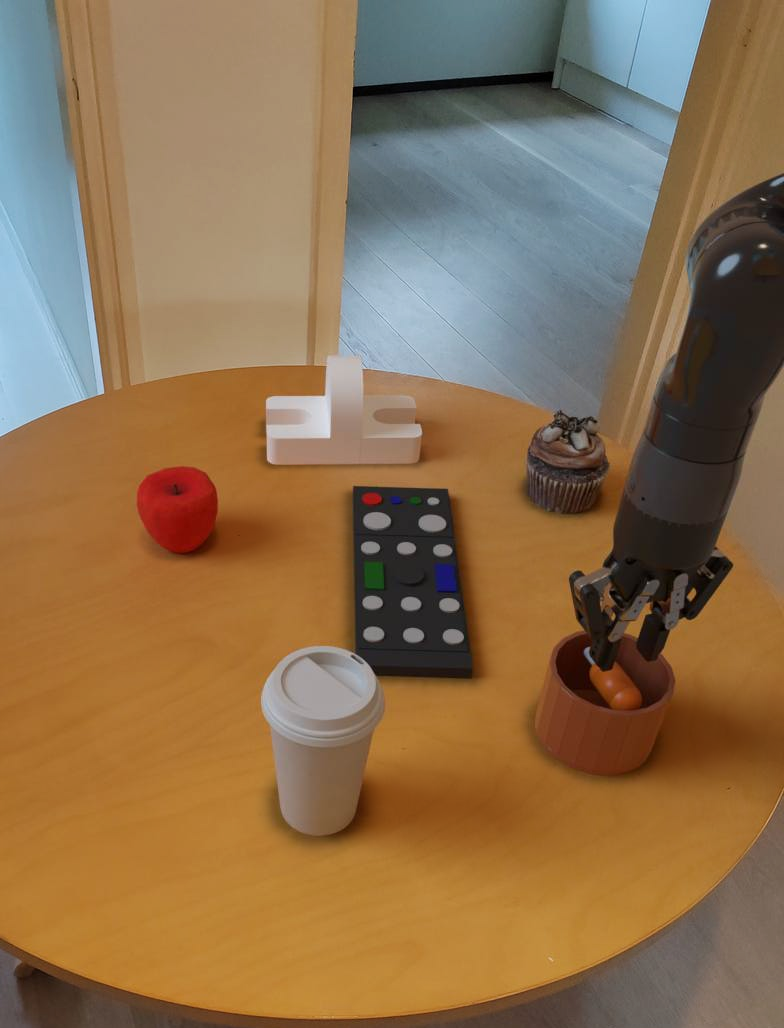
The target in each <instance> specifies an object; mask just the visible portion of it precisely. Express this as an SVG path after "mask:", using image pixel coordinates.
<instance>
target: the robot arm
mask: <svg viewBox="0 0 784 1028" xmlns="http://www.w3.org/2000/svg"><path fill="white" fill-rule="evenodd" d="M685 265H686V275H687V280H688V286H689V292H690V299H689V305H688V311H687V316H686V320H685V324H684V327H683V330H682V334H681V337H680V340H679V344H678V347H677V350H676V352H675V353H674V354H673V355H671V357H669V359H668V360H667V361H666V362H665V365H664V367H663V368H662V371H661V372H660V375H659V377H658V380H657V384H656V387H655V389H654V394H653V397H652V400H651V403H650V407H649V410H648V415H647V416H646V417H647V418H646V421H645V425H644V429H643V431H642V434H641V436H640V438H639V440H638V442H637V445H636V447H635V449H634V452H633V454H632V458H631V461H630V464H629V468H628V472H627V475H626V479H625V483H624V485H623V490H622V494H621V497H620V501H619V504H618V508H617V512H616V515H615V519H614V522H613V527H612V533H613V534H612V536H613V537H612V539H613V543H612V545H613V546H612V549H611V551H610V553H609V554H608V555H607V556H606V558H605V559H604V560H603V563H602V567H601V568H599V569H596V570H595V571H593V572H591V573H589V574H584V572H583V571H582V570H575V571H573V572H572V573H571V574H570V575H569V577H568V582H569V589H570V594H571V599H572V604H573V609H574V615H575V620H576V621H577V622H578V624H579V625H580V627H582V629H583V631H584V630H585V631H586V633H587V634H588V635H589V637H590V638H591V639H592V644H591V646H590V650H589V655H590V657H591V658H592V660H593V661H594V662H595V664H596V665H597V666H598V667H599V668H600V669H601V671H603V672H605V671H609V670H612V669H613V666H614V663H615V659H616V656H617V653H618V650H619V647H620V643H621V639H620V638H621V637H622V635H623V633H625V631H626V629H627V628H628V626H629V624H630V622H636V621H637V620H638V618H639V617H640V615H641V613H642V612H643V610H644V608H645V606H646V604H649V607H648V608H649V609H648V610H649V611H650V612H651V613H648V614H645V615H644V618H643V622H642V624H641V627H640V631H639V634H638V637H637V638H638V640H637V643H636V648H637V650H638V651H639V653H640V654H641V655H642V656H643V658H644V659H645V660H646V661H647V662H650V661H654V660H657V658H658V655H659V653H661V654H662V652H663V651H664V649H665V647H666V643H667V641H668V639H669V635H670V632H671V630H673V629H675V628H676V627H677V625H679V622H680V620H683V619H684V618H685V619H686V620H687V621H692V620H694V619H696V618H697V617H698V616H699V615H700V613H701V612H702V610H703V609H704V608H705V607H706V605H707V604H708V602H709V601H710V600H711V598H712V597H713V595H714V594H715V593H716V591H717V590H718V588H719V587H720V586H721V584H722V583H723V582H724V580H725V579H726V577H727V576H728V575H729V574H730V572H731V571H732V570H733V568H734V563H733V562H732V561H731V560H730V559H729V557H728V555H726V554H725V553H724V552H723V551H722V550H721V549H720V548H718V547H717V543H718V540H719V537H720V534H721V531H722V529H723V526H724V523H725V521H726V518H727V515H728V513H729V509H730V507H731V504H732V501H733V498H734V496H735V493H736V491H737V488H738V485H739V482H740V479H741V476H742V473H743V472H742V471H743V466H744V461H745V456H746V453H747V449H748V447H749V445H750V442H751V439H752V437H753V434H754V430H755V428H756V425H757V422H758V419H759V417H760V414H761V412H762V407H763V404H764V400H765V398H766V397H765V396H766V394H767V392H768V391H769V389H770V388H771V387H772V386H773V384H774V383H775V381H776V379H777V378H778V377H779V375H780V373H781V372H782V369H784V172H783V173H780V174H777V175H775V176H773V177H770V178H768V179H766V180H763V181H760V182H759V183H757V184H754V185H753V186H750V187H748V188H746V189H745V190H742V191H741V192H739V193H738V194H735V195H734V196H732V197H731V198H729V199H728V200H726V201H725V202H724V203H722V204H721V205H719V206H718V207H716V209H714V210H713V211H712V212H710V213H709V215H708V216H706V217H705V218H704V220H702V221H701V223H700V224H699V226H698V227H697V228H696V230H695V232H694V233H693V235H692V236H691V239H690V241H689V245H688V247H687V251H686V256H685ZM693 589H694V590H695V594H694V596H693V597H692V599H691V600H690V598H688V596H689V595H690V593H691V592H692V591H693ZM613 616H614V619H612V617H613Z"/></svg>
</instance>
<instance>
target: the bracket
mask: <svg viewBox="0 0 784 1028" xmlns="http://www.w3.org/2000/svg"><path fill="white" fill-rule="evenodd" d="M362 361H363V360H362V357H361V356H360V355H359V354H357V355H355V354H354V355H351V354H350V355H349V354H348V355H345V354H343V355H342V354H341V355H337V354H336V355H335V354H333V355H327V358H326V367H325V386H324V387H325V390H324V395H273V396H269V397H267V398H266V400H265V432H266V433H265V434H266V460H267V462H268V463H270V464H272V465H283V466H284V465H391V464H392V465H394V464H395V465H397V464H398V465H399V464H405V465H407V464H409V465H410V464H416V463H418V462H419V461H420V457H421V449H422V447H421V446H422V439H423V429H422V425H421V423H416V417H417V404H416V401H415V399H414V398H413V397H412V396H409V395H364V373H363V372H364V371H363V362H362Z"/></svg>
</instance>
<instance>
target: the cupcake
mask: <svg viewBox="0 0 784 1028" xmlns="http://www.w3.org/2000/svg"><path fill="white" fill-rule="evenodd" d="M600 430H601V424H600V422H598V419H595V418H594V417H593V416H592V415H589V416H588V417H587V416H586V417H583V418H580V419H579V417H577V416H569V415H567V414H565V413H564V412H563V410H562V409H559V410H557V411H555V414H553V417H552V420H551V422H550V423H548V424H545V425H542V426H541V427H539V428H538V429H536V430H535V432H534V433H533V436H532V438H531V442H530V444H529V446H528V448H527V452H526V461H525V463H526V493H527V495H528V497H529V499H530V501H531V502H532V503H534V504H535V505H536V506H538V507H540V508H541V509H543V510H546V511H547V512H550V513H551V512H552V513H556V514H560V515H561V514H562V515H574V514H579V513H583V512H585V511H587V510H588V509H589V508H591V507H592V506H593V505H594V503H595V500H596V498H597V496H598V494H599V492H600V490H601V488H602V486H603V484H604V482H605V481H606V478H607V477H608V475H609V473H610V470H611V464H610V462H609V459H608V457H607V455H606V454H607V453H606V452H607V451H606V444H605V441H604V440H603V438H602V437H601V436H599V434H598V432H599V431H600Z"/></svg>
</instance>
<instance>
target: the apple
mask: <svg viewBox="0 0 784 1028" xmlns="http://www.w3.org/2000/svg"><path fill="white" fill-rule="evenodd" d="M136 508H137V511H138V515H139V518H140V520H141V522H142V524H143V526H144V528H145V530H146V531H147V534H148V535H149V536H150V537H151V538H152V540H153V541H154V542H155V543H157V544H158V545H159V546H160V547H162V548H163V549H165V550H167V551H169V552H172V553H176V554H185V553H189V552H194V551H195V550H196V549H198V548H199V547H201V546H202V545H203V544H204V542H205V541H206V540H207V538H208V537H209V536H210V535H211V532H212V531H213V529H214V527H215V525H216V520H217V516H218V511H219V499H218V491H217V488H216V486H215V484H214V482H213V481H212V479H211V478H210V476H209V475H208V474H207V472H205V471H203V470H201V469H199V468H197V467H194V466H185V465H184V466H183V465H179V466H172V467H171V466H170V467H164V468H162V469H160V470H157V471H154V472H152V473H150V474H147V476H145V478H144V479H143V480H142V482H141V483H140V484H139V485H138V489H137V492H136Z"/></svg>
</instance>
